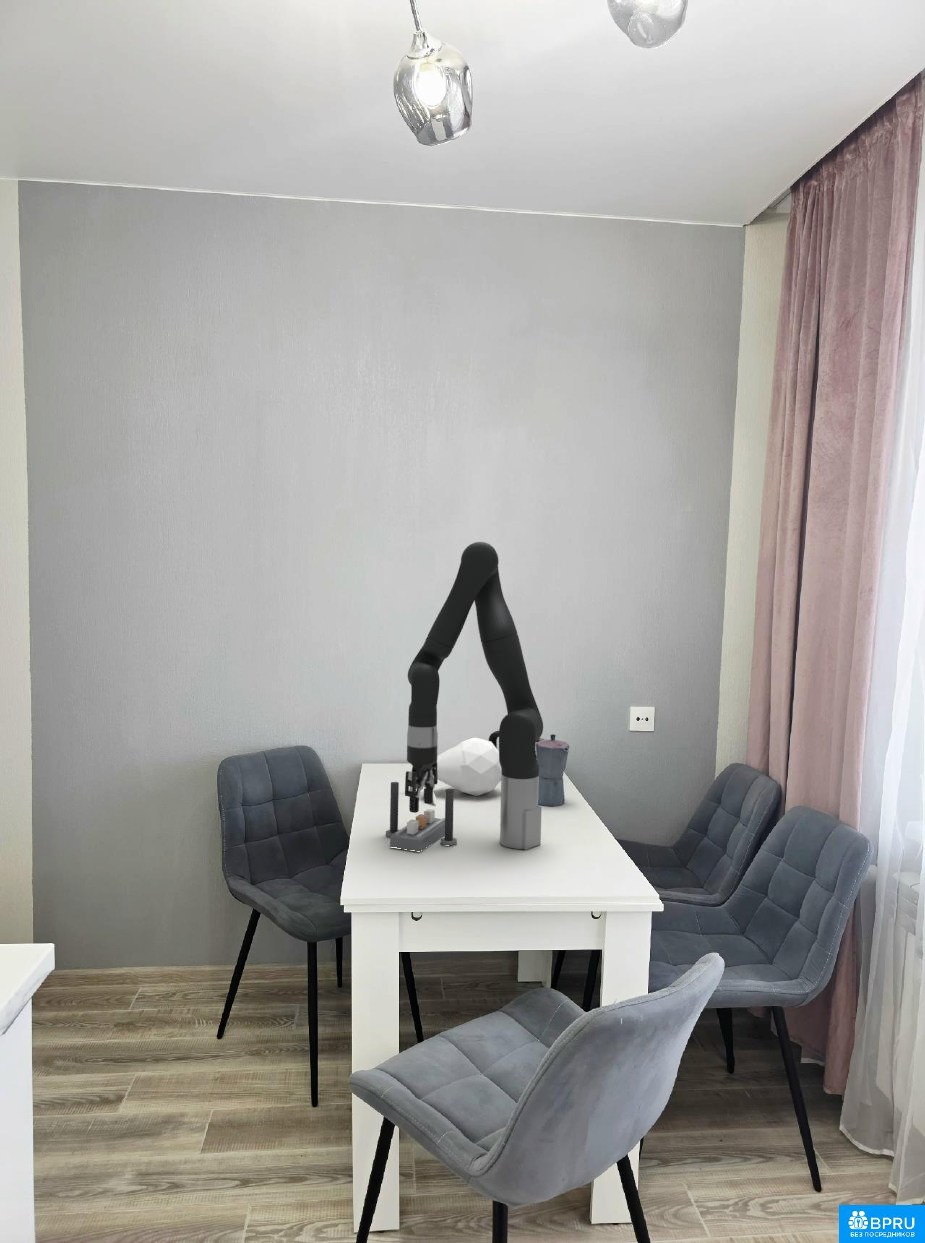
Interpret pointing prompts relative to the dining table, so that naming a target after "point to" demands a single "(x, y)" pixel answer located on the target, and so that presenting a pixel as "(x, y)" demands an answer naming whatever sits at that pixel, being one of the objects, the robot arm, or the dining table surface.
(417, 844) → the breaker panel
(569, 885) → the dining table surface
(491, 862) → the dining table surface
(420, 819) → the white and orange bar
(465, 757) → the pear ornament
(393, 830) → the dark grey lever handle
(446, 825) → the dark grey cylinder
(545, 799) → the moka pot
